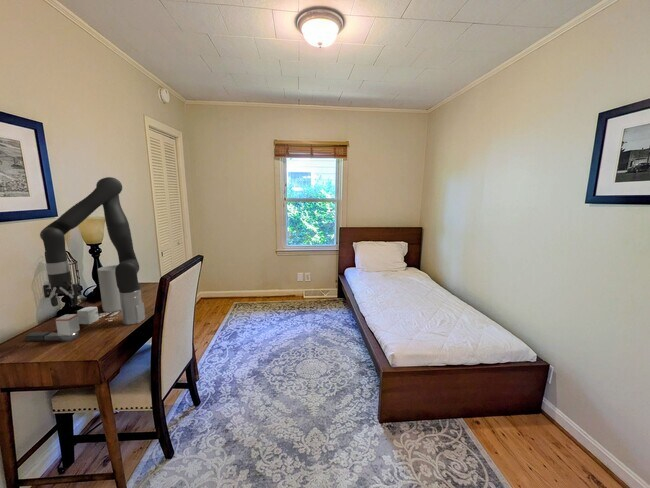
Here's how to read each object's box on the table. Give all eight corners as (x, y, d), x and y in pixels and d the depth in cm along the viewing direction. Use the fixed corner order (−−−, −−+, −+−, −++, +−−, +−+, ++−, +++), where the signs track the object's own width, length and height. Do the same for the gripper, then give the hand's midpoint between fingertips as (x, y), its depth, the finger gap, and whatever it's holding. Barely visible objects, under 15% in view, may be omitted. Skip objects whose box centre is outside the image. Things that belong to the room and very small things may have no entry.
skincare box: (89, 324, 145) (87, 311, 144) (78, 324, 146) (76, 310, 144) (99, 319, 151) (97, 306, 150) (88, 319, 152) (87, 306, 150)
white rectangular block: (80, 329, 133) (77, 314, 132) (70, 335, 128) (67, 319, 127) (68, 330, 133) (65, 314, 132) (57, 335, 128) (55, 319, 126)
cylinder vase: (112, 313, 158) (107, 271, 154) (97, 310, 162) (92, 269, 158) (134, 305, 170) (129, 266, 166) (119, 303, 174) (114, 264, 170)
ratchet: (82, 334, 134) (80, 322, 133) (71, 341, 128) (69, 328, 127) (36, 335, 133) (34, 323, 132) (22, 342, 127) (20, 329, 126)
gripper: (82, 268, 129) (87, 301, 132) (49, 269, 128) (56, 303, 131) (68, 273, 122) (74, 308, 125) (34, 274, 121) (41, 309, 124)
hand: (65, 305), depth 128 cm, fingers open, 8 cm apart
